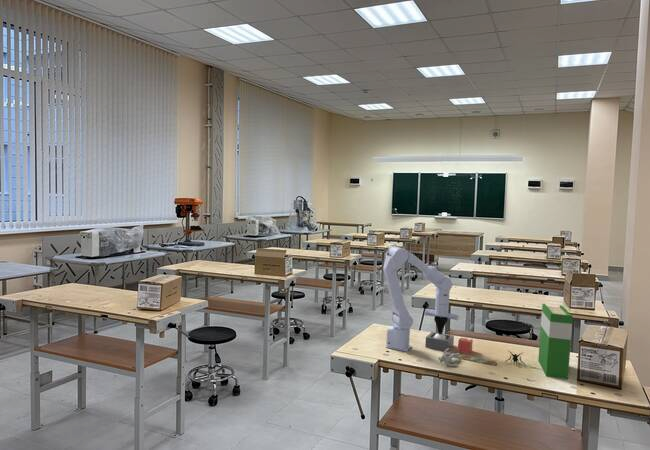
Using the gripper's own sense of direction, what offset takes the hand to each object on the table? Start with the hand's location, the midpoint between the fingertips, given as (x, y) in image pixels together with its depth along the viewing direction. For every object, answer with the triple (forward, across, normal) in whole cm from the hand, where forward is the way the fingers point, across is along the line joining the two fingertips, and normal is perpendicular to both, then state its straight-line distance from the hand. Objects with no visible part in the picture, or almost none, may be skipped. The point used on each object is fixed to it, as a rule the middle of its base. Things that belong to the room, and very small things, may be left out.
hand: (440, 333), depth 203 cm
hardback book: (+6, -45, +2) cm, 45 cm away
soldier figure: (+6, -9, +19) cm, 22 cm away
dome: (+6, 0, 0) cm, 6 cm away
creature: (+6, -32, +5) cm, 33 cm away
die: (+6, -11, 0) cm, 12 cm away
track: (+6, -15, +9) cm, 18 cm away
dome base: (+6, 0, 0) cm, 6 cm away
